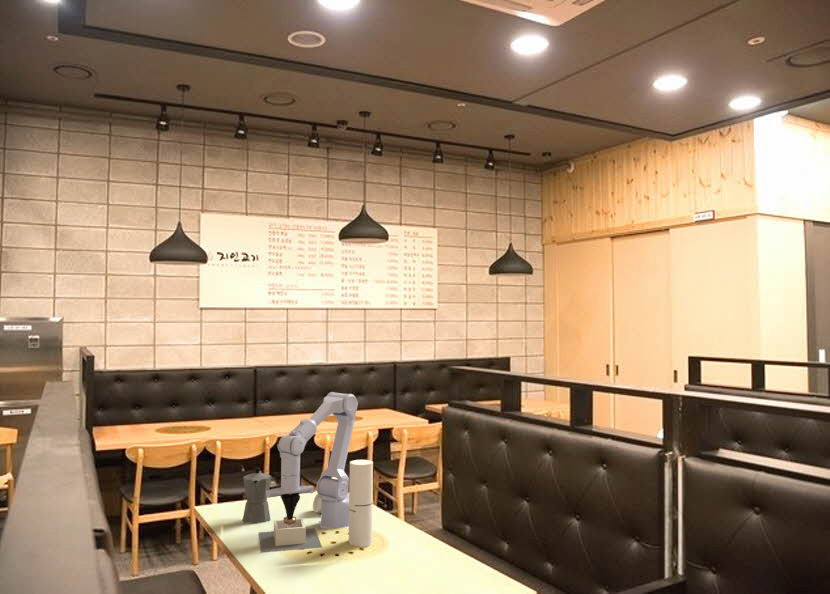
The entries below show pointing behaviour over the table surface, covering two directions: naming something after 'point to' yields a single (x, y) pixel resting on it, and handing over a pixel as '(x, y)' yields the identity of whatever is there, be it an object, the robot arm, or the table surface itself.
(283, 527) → the press
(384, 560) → the table surface
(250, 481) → the coffeepot
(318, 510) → the spread jar
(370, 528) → the cylindrical container
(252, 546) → the table surface
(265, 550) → the mat
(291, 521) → the plunger
